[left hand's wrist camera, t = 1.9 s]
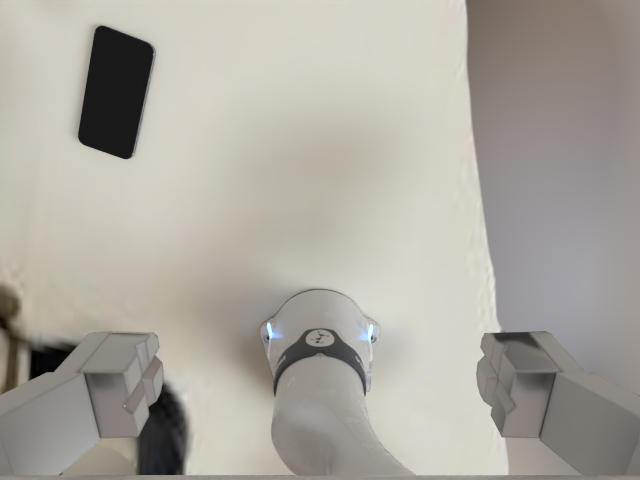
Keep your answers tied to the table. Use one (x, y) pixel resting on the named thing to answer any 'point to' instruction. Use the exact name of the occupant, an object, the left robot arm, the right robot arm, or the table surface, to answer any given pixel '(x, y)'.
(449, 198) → the table surface
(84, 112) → the smartphone
